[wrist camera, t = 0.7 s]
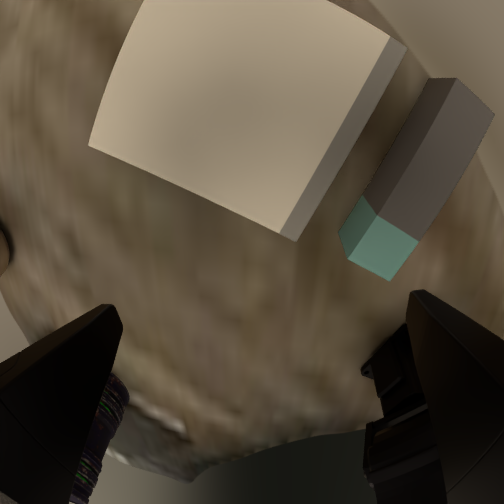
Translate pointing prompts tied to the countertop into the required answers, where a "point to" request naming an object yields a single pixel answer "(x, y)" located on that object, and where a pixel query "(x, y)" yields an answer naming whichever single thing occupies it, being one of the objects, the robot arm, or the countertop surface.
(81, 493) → the storage jar
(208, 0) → the notepad
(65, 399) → the robot arm
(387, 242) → the marker
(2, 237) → the plastic bottle
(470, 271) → the countertop surface
